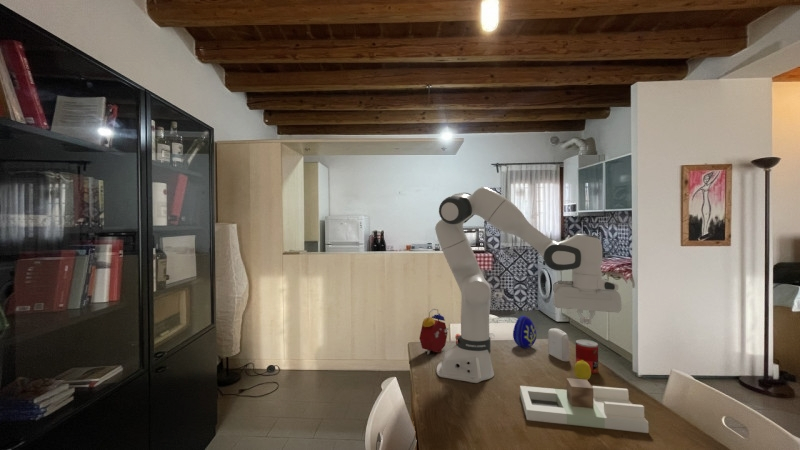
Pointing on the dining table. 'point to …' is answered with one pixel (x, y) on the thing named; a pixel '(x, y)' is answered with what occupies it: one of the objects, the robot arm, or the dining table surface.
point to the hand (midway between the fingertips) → (585, 323)
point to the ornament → (524, 332)
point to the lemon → (582, 370)
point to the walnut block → (580, 393)
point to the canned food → (587, 353)
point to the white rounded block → (558, 344)
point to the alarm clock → (433, 333)
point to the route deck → (585, 409)
